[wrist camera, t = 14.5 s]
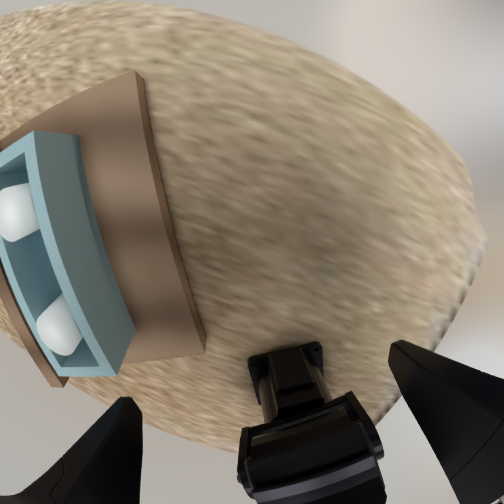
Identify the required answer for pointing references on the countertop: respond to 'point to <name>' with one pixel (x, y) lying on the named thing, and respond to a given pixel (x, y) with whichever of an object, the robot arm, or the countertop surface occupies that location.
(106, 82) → the walnut shelf
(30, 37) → the countertop surface
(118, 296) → the tray
